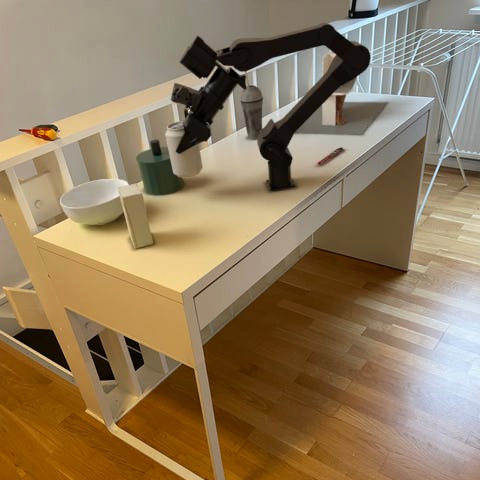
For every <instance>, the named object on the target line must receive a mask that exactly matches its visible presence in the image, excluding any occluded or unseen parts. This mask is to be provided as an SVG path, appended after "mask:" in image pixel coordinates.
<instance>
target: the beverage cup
mask: <svg viewBox="0 0 480 480" xmlns="http://www.w3.org/2000/svg"><path fill="white" fill-rule="evenodd" d="M247 72H248V71H246V72H244V74H245V75H246V89H245V90H244V89H243V88H242V91H241V94H240V100H239V102H240V106H241V109H242V112H243V113H242V114H243V118H244V125H245V129H246V134H247V138H248V140H257V138H258V136H259V134H260V129H262V128H263V103H264V97H263V93H262V91H261V89H260V88H259V87H258V86H256V85H253V84H251V85H250V83H249V78H248V73H247Z"/></svg>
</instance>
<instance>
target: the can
mask: <svg viewBox="0 0 480 480" xmlns="http://www.w3.org/2000/svg"><path fill="white" fill-rule="evenodd" d="M183 121H184V120H180V121H174V122H172V123H169V124H168V125H166V129H167V130H166V131H165V133H164V135H165V140H166V144H167V145H166V146H167V147H168V150H169V155H170V160H171V164H172V169H173V173H174V174H175V175H177V176H178V177H181V178H182V179H187V178H193V177H196V176H197V175H199V174H201V172H202V170H203V167H204V166H203V161H202V155H201V149H200V143H199V144H197V145H195V146H193V147H191V148H189V149H188V150H186V151H184V152H182V153H181V154H178V153H177V152H176V149H177V147H178V145H179V142H180V140H181V138H182V136H183V134H184V127H183Z"/></svg>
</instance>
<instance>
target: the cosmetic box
mask: <svg viewBox="0 0 480 480" xmlns="http://www.w3.org/2000/svg"><path fill="white" fill-rule="evenodd" d="M118 192H119V195H120V199H121V203H122V207H123V211H124V213H123V214H124V219H125V222H126V227H127V230H128V233H129V237H130V238H129V239H130V240H131V243H132V245H133V247H134V249H139V248H143V247H147V246H151V245H153V244H154V240H153V236H152V232H151V227H150V222H149V218H148V213H147V208H146V205H145V200H144V195H143V192H142V190H141V188H140V186H139V185H138V183H136V182H135V183H132V184H129V185H127V186H122V187H118Z"/></svg>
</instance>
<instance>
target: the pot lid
mask: <svg viewBox="0 0 480 480" xmlns="http://www.w3.org/2000/svg"><path fill="white" fill-rule="evenodd" d="M149 144H150V148H149V149H146V150H144V151H142V152H140V153H138V154H137V155H136V156H135V161H136V162H137V164H138V163H141V164H158V163H163V162H167V161H169V160H170V155H169V150H168V146H161V143H160V140H159V139H152V140H150V141H149Z"/></svg>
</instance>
